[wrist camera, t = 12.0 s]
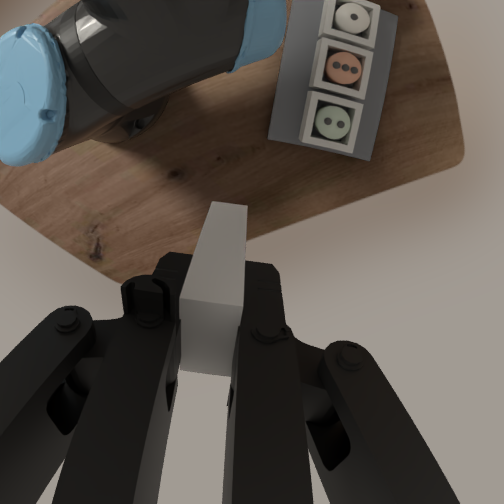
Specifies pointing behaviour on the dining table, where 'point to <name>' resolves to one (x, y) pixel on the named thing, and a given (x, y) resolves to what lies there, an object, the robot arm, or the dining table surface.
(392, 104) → the dining table surface
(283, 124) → the button board
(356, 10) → the button one
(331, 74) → the button three
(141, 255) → the dining table surface
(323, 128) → the button two
